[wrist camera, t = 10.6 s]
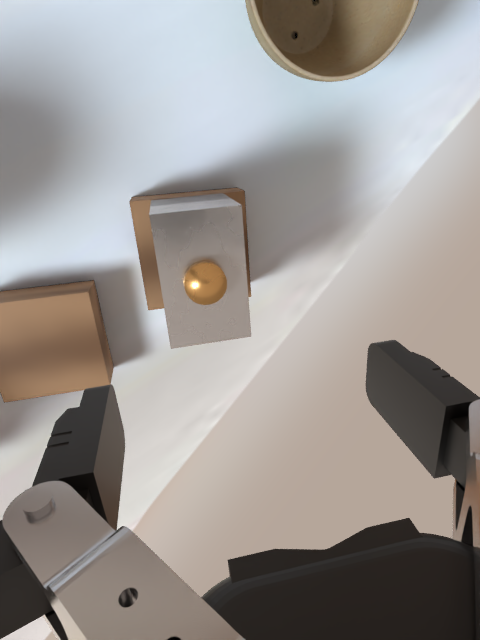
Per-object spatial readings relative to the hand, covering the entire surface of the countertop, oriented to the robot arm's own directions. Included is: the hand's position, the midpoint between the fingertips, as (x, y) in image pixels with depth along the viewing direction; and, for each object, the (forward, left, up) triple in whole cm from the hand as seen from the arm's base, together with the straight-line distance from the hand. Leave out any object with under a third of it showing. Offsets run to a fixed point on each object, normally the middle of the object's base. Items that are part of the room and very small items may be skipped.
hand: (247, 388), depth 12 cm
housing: (0, 0, -19) cm, 19 cm away
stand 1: (+6, -12, -22) cm, 26 cm away
